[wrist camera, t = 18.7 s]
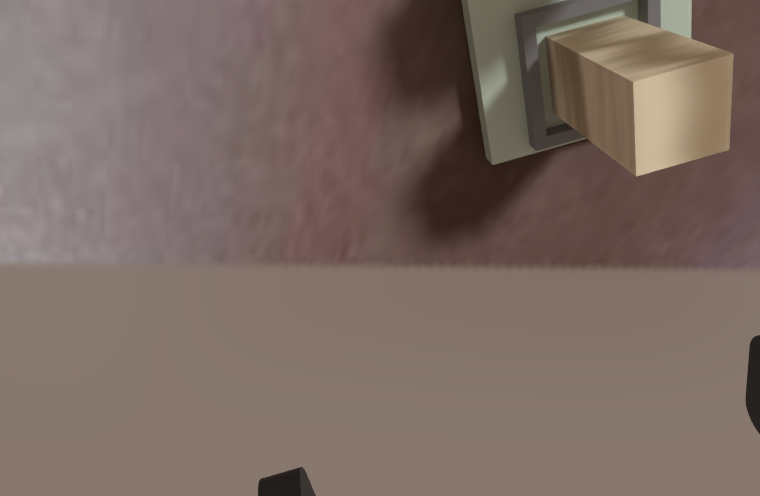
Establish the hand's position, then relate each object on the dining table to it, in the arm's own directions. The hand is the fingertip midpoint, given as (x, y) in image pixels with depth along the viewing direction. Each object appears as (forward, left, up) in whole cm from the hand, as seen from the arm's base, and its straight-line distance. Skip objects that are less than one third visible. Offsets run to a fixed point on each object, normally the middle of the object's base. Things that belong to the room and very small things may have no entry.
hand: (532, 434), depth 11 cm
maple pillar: (+15, -5, -32) cm, 35 cm away
